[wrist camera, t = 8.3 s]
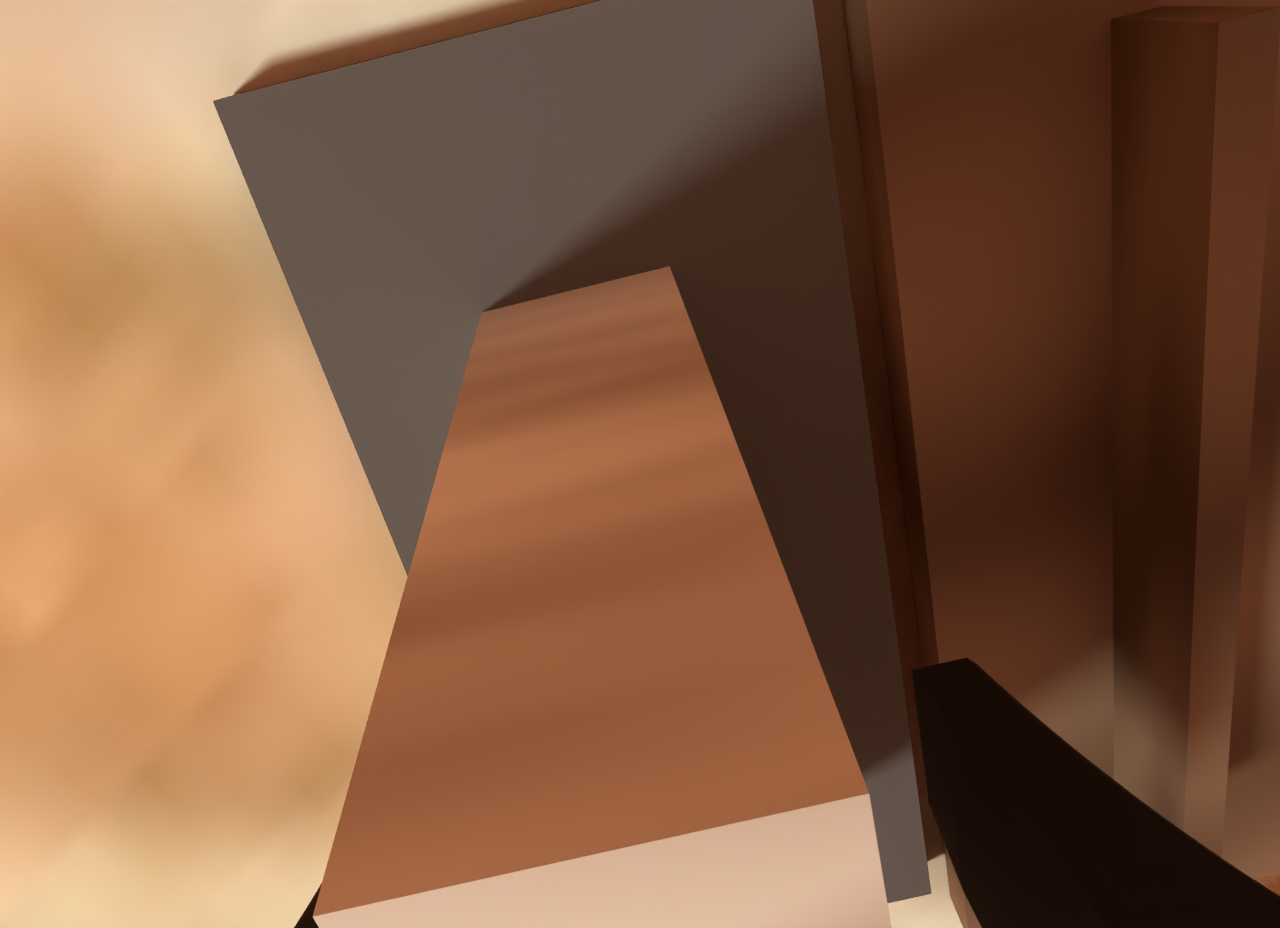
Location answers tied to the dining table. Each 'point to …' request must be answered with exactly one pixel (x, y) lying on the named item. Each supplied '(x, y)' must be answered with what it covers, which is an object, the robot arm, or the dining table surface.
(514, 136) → the gray rectangular plate
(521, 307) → the brown rectangular block
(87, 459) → the dining table surface
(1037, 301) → the walnut rack
